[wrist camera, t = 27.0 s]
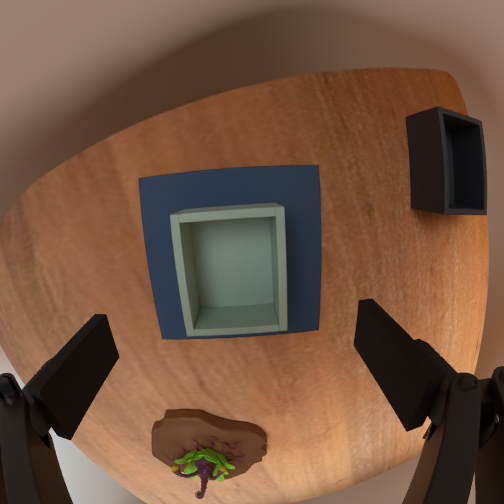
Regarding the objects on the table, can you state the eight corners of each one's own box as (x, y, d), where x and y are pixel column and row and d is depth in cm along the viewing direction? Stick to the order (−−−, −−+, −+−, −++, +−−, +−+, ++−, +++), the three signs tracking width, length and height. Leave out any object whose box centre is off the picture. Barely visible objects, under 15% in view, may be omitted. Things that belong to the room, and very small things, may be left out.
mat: (139, 178, 28) (138, 178, 28) (317, 165, 29) (318, 165, 28) (163, 337, 33) (162, 339, 32) (317, 328, 34) (318, 330, 33)
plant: (144, 450, 39) (131, 493, 28) (164, 395, 35) (147, 450, 25) (237, 476, 42) (238, 518, 31) (282, 429, 38) (291, 481, 27)
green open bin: (183, 209, 29) (169, 215, 23) (275, 202, 29) (284, 206, 23) (195, 310, 32) (187, 336, 26) (279, 305, 32) (287, 330, 26)
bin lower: (405, 117, 27) (437, 106, 21) (449, 126, 28) (481, 120, 21) (410, 208, 30) (444, 214, 23) (453, 208, 31) (486, 215, 24)
